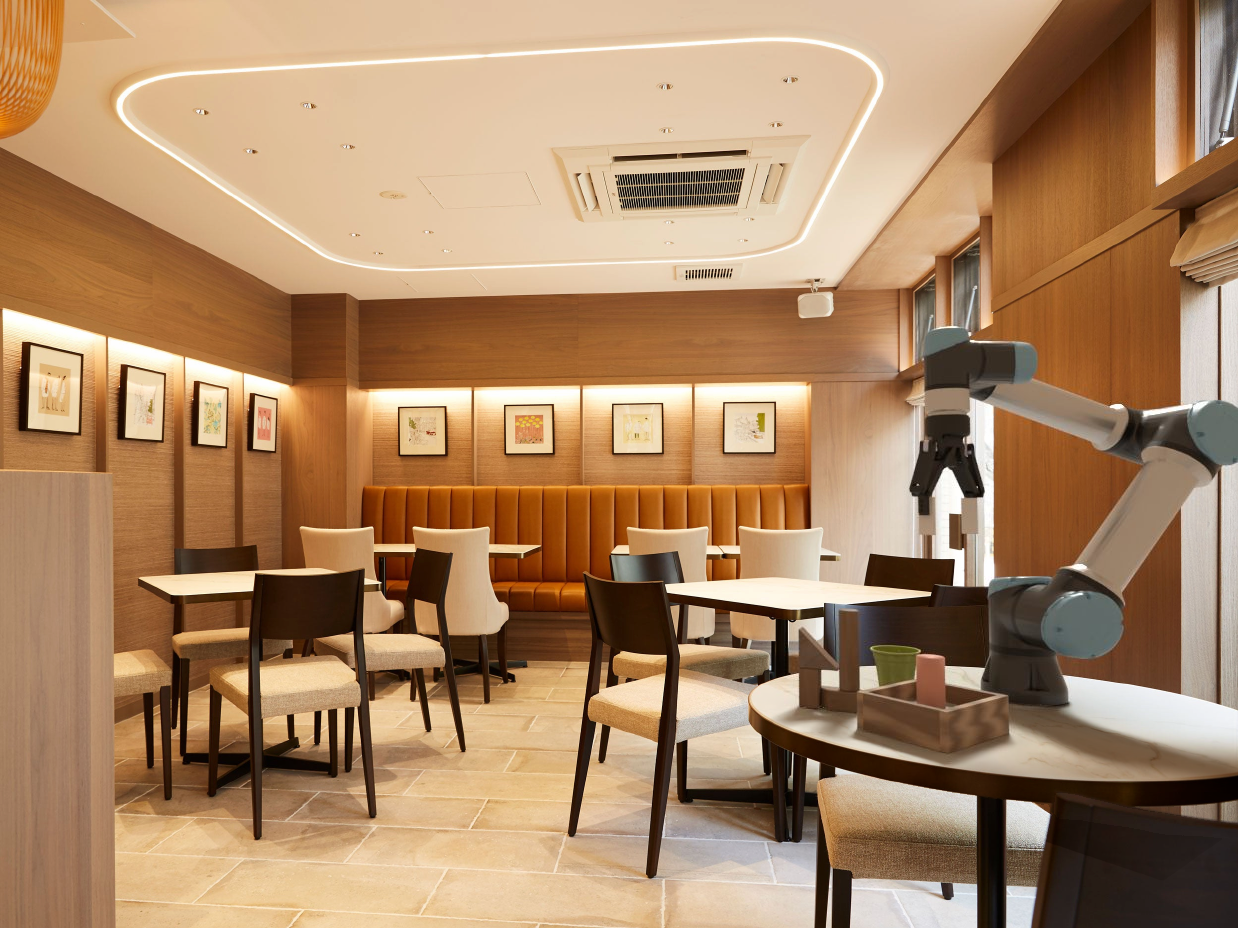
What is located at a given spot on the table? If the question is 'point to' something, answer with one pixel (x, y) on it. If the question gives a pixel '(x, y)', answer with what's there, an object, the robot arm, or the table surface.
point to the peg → (931, 680)
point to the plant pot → (895, 663)
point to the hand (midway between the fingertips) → (949, 534)
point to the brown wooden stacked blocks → (831, 667)
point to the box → (933, 716)
